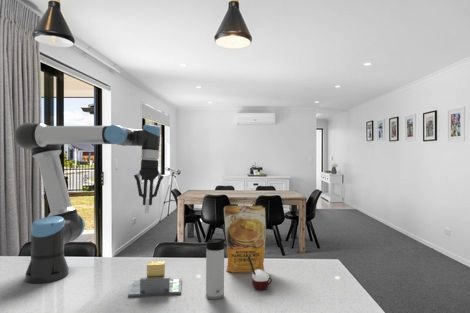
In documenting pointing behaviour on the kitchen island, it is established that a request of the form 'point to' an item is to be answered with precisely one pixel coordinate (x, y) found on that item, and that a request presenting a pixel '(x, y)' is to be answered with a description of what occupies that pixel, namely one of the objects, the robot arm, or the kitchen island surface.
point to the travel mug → (215, 269)
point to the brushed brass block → (156, 269)
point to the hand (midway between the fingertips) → (146, 212)
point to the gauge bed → (155, 287)
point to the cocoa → (259, 278)
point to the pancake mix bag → (245, 237)
